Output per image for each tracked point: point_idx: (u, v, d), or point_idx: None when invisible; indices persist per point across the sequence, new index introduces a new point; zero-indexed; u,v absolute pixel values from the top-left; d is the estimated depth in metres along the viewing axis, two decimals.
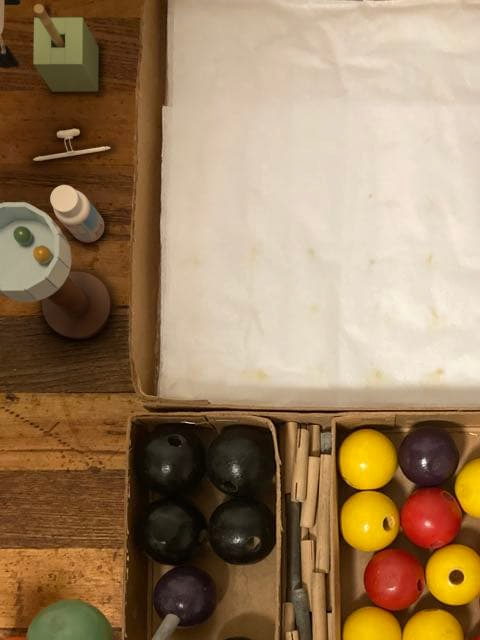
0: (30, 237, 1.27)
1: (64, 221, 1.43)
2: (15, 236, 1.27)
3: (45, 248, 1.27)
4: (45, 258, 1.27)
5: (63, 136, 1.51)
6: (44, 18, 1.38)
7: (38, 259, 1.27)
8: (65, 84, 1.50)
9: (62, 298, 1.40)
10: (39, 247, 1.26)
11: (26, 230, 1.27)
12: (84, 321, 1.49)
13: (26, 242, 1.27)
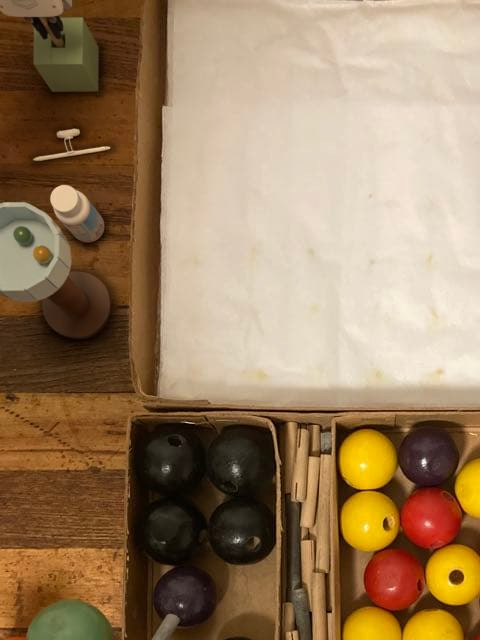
0: (30, 237, 1.27)
1: (64, 221, 1.43)
2: (15, 236, 1.27)
3: (45, 248, 1.27)
4: (45, 258, 1.27)
5: (63, 136, 1.51)
6: (44, 18, 1.38)
7: (38, 259, 1.27)
8: (65, 84, 1.50)
9: (62, 298, 1.40)
10: (39, 247, 1.26)
11: (26, 230, 1.27)
12: (84, 321, 1.49)
13: (26, 242, 1.27)
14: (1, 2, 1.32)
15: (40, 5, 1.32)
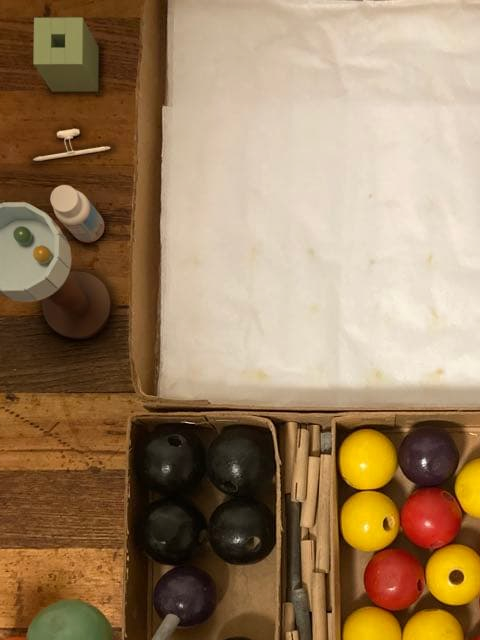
0: (30, 237, 1.27)
1: (64, 221, 1.43)
2: (15, 236, 1.27)
3: (45, 248, 1.27)
4: (45, 258, 1.27)
5: (63, 136, 1.51)
6: None
7: (38, 259, 1.27)
8: (65, 84, 1.50)
9: (62, 298, 1.40)
10: (39, 247, 1.26)
11: (26, 230, 1.27)
12: (84, 321, 1.49)
13: (26, 242, 1.27)
14: None
15: None
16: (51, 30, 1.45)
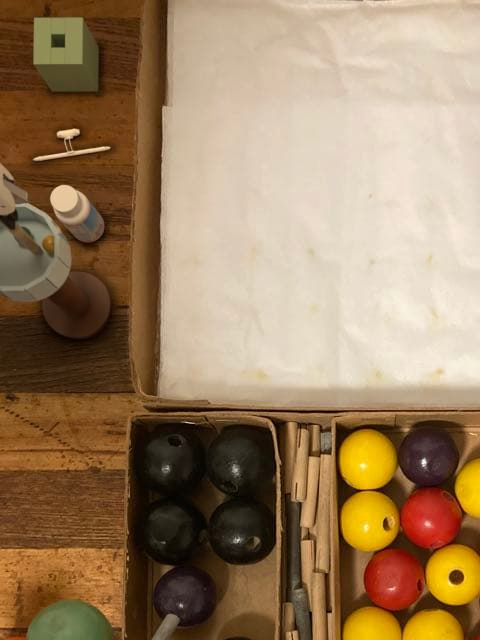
0: None
1: (64, 221, 1.43)
2: None
3: None
4: None
5: (63, 136, 1.51)
6: None
7: None
8: (65, 84, 1.50)
9: (62, 298, 1.40)
10: None
11: (26, 230, 1.27)
12: (84, 321, 1.49)
13: None
14: None
15: None
16: (51, 30, 1.45)
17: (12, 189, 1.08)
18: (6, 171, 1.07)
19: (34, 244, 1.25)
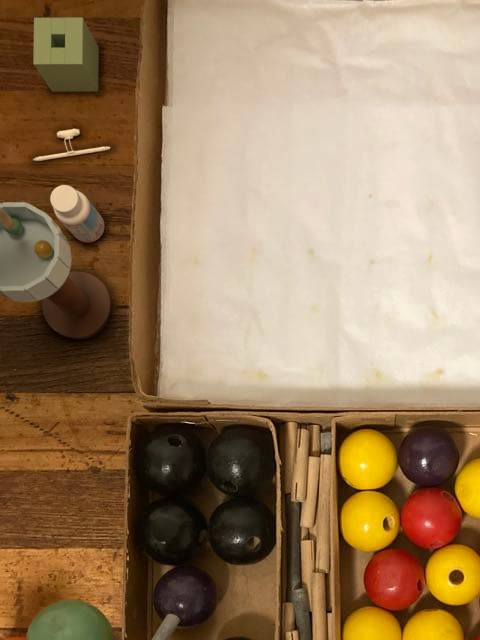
0: (12, 218, 1.27)
1: (64, 221, 1.43)
2: None
3: (49, 244, 1.27)
4: (45, 251, 1.27)
5: (63, 136, 1.51)
6: None
7: (37, 249, 1.26)
8: (65, 84, 1.50)
9: (62, 298, 1.40)
10: (44, 240, 1.27)
11: None
12: (84, 321, 1.49)
13: None
14: None
15: None
16: (51, 30, 1.45)
17: None
18: None
19: (6, 217, 1.21)
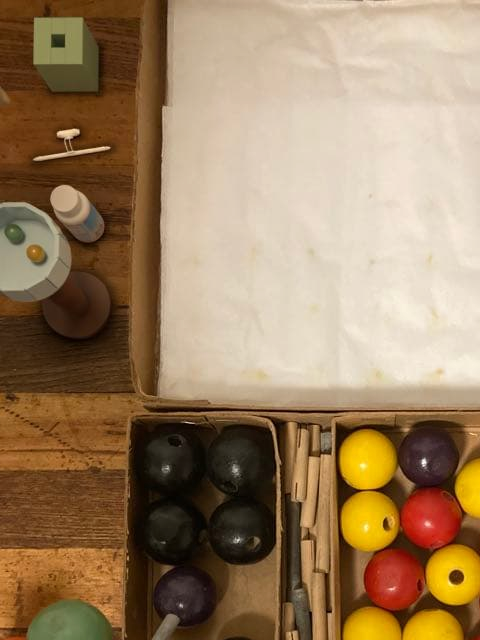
0: (11, 228, 1.26)
1: (64, 221, 1.43)
2: None
3: (34, 248, 1.26)
4: (33, 258, 1.27)
5: (63, 136, 1.51)
6: None
7: None
8: (65, 84, 1.50)
9: (62, 298, 1.40)
10: (29, 247, 1.26)
11: (13, 224, 1.27)
12: (84, 321, 1.49)
13: (6, 232, 1.26)
14: None
15: None
16: (51, 30, 1.45)
17: None
18: None
19: (1, 92, 1.20)
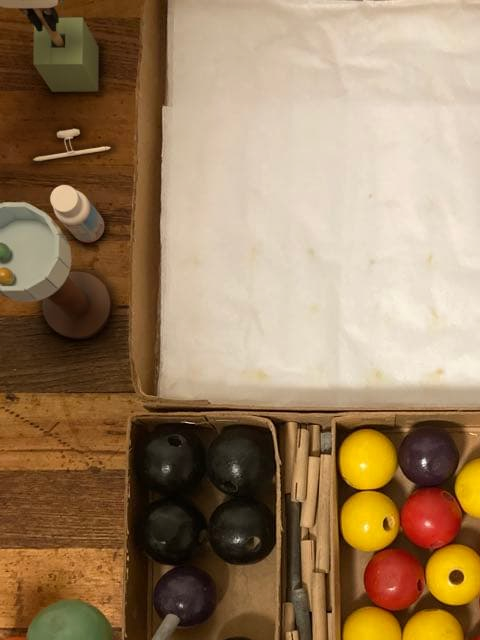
0: (4, 259, 1.27)
1: (64, 221, 1.43)
2: None
3: None
4: (12, 275, 1.27)
5: (63, 136, 1.51)
6: (38, 9, 1.36)
7: (5, 273, 1.26)
8: (65, 84, 1.50)
9: (62, 298, 1.40)
10: None
11: None
12: (84, 321, 1.49)
13: (8, 257, 1.28)
14: None
15: None
16: None
17: None
18: None
19: None
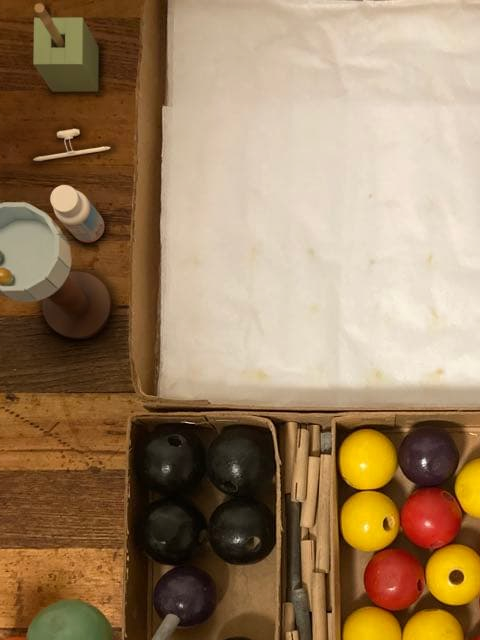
0: None
1: (64, 221, 1.43)
2: None
3: None
4: (10, 275, 1.27)
5: (63, 136, 1.51)
6: (44, 17, 1.38)
7: (3, 273, 1.26)
8: (65, 84, 1.50)
9: (62, 298, 1.40)
10: (4, 268, 1.27)
11: None
12: (84, 321, 1.49)
13: (0, 257, 1.27)
14: None
15: None
16: None
17: None
18: None
19: None
